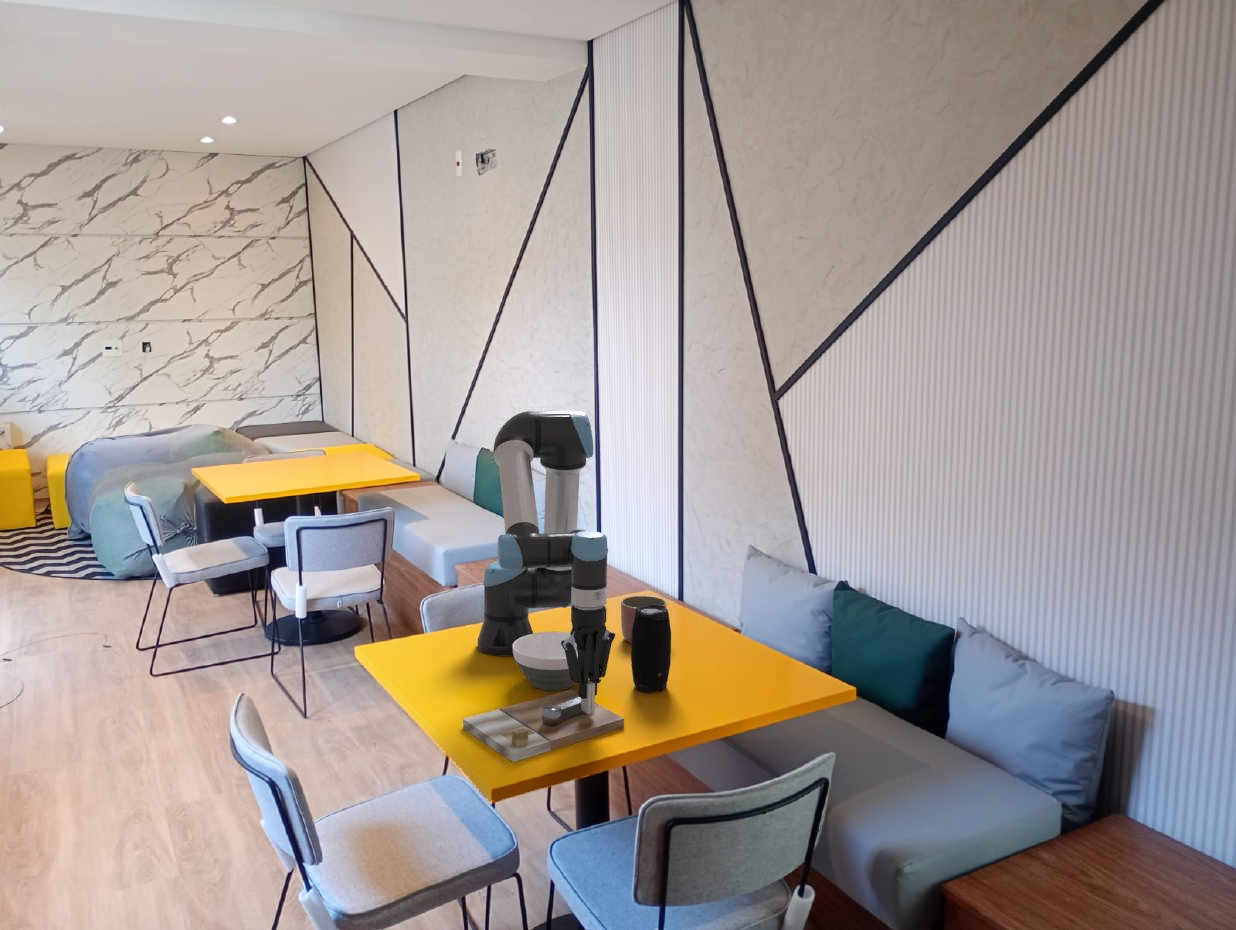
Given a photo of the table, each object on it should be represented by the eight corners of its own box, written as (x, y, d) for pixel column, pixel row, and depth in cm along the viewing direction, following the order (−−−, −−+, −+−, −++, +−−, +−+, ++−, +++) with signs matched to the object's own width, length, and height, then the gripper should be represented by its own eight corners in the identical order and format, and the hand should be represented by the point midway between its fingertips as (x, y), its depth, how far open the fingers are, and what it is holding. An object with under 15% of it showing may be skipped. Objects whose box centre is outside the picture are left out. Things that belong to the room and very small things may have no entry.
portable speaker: (671, 694, 227) (674, 613, 224) (632, 694, 226) (633, 614, 223) (667, 680, 235) (669, 602, 232) (628, 680, 234) (630, 602, 231)
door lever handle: (551, 727, 202) (551, 714, 201) (538, 721, 205) (538, 708, 204) (596, 708, 212) (597, 696, 211) (584, 703, 214) (584, 691, 214)
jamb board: (463, 727, 207) (462, 706, 206) (570, 697, 224) (570, 677, 223) (512, 762, 191) (512, 739, 190) (624, 727, 208) (624, 706, 207)
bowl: (527, 703, 220) (527, 663, 218) (502, 674, 238) (502, 636, 236) (606, 691, 228) (607, 652, 226) (576, 663, 245) (576, 627, 244)
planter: (673, 638, 266) (674, 600, 264) (651, 651, 255) (651, 611, 254) (635, 630, 272) (636, 592, 271) (611, 642, 262) (612, 603, 260)
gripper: (573, 614, 198) (572, 724, 201) (624, 604, 206) (622, 709, 209) (553, 606, 204) (552, 712, 207) (603, 595, 212) (601, 698, 215)
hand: (587, 710), depth 208 cm, fingers closed
